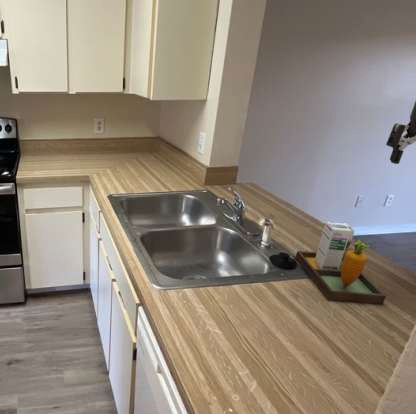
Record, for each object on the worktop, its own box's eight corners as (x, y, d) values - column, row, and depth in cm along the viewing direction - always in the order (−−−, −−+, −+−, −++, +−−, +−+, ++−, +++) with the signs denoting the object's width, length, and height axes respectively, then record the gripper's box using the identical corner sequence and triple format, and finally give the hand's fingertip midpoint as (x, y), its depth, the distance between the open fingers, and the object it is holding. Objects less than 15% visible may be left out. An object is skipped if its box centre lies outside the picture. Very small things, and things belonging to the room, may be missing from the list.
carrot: (338, 279, 99) (353, 235, 93) (358, 287, 96) (375, 241, 90) (332, 285, 97) (347, 240, 91) (352, 294, 93) (370, 247, 87)
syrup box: (320, 270, 104) (333, 229, 98) (313, 260, 109) (326, 220, 103) (341, 272, 103) (355, 231, 97) (333, 262, 108) (346, 222, 102)
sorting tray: (339, 260, 111) (342, 253, 109) (382, 304, 91) (386, 296, 89) (295, 257, 112) (297, 250, 111) (327, 299, 92) (330, 291, 91)
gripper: (415, 102, 80) (392, 166, 87) (482, 102, 78) (453, 168, 85) (394, 99, 87) (374, 159, 94) (455, 99, 85) (430, 160, 92)
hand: (411, 163), depth 89 cm, fingers open, 8 cm apart
